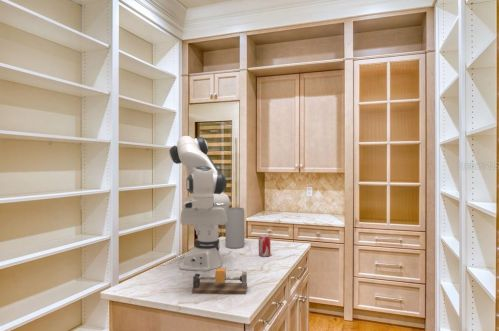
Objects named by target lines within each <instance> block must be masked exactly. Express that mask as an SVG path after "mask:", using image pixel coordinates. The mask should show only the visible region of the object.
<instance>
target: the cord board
mask: <svg viewBox="0 0 499 331" xmlns="http://www.w3.org/2000/svg"><path fill="white" fill-rule="evenodd" d="M247 274H248V273H247V271H242V272H241V275H240V276H226V277H225V281H239V282H225V283H215V282H209V281H211V280H213V281H215V276H201V274H200V273H195V274H194V275H193V277H192V281H193V282H192V289H191V293H192V294H200V295H201V294H205V295H206V294H208V295H211V294H213V295H216V294H217V295H246V294H247V289H248V281H247V279H248V278H247V277H248V276H247ZM201 280H202V281H203V280H205V281H207V282H205V281H203V282H201ZM208 280H209V281H208Z"/></svg>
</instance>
